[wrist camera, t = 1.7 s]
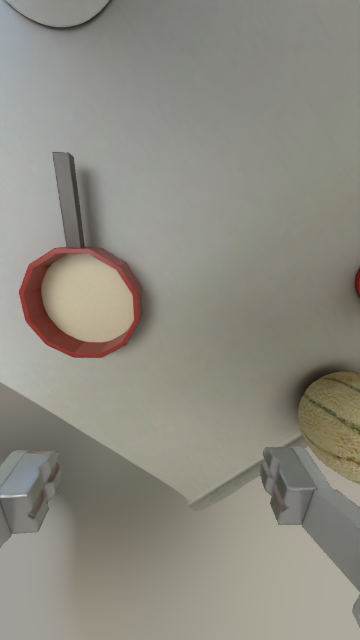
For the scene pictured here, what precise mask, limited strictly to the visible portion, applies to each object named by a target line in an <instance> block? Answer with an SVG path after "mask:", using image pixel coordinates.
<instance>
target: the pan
mask: <svg viewBox="0 0 360 640" xmlns="http://www.w3.org/2000/svg"><path fill="white" fill-rule="evenodd" d="M53 159H54V166H55V172H56V179H57V186H58V192H59V199H60V206H61V212H62V219H63V225H64V232H65V239H66V245H67V247H61V248H54V249H53V250H51V251H50V252H48V253H46V254H45V255H43V256H42V257H40V258H39V259H37V260H35V261H34V262H32V263H31V264H29V266H28V269H27V271H26V274H25V277H24V280H23V282H22V285H21V288H20V290H19V295H20V299H21V303H22V308H23V312H24V316H25V320H26V321H27V323H28V325H29V326H30V327H31V328H32V329H33V330H34V331H35V333H36V334H37V335H38V336H39V337H40V338H41V339H42V341H43V342H44V343H45V344H47V345H48V346H50V347H52V348H54V349H56V350H59V351H61V352H63V353H65V354H67V355H69V356H72V357H78V358H102V357H104V356H106V355H108V354H110V353H112V352H114V351H116V350H117V349H119V348H121V347H123V346H125V345H126V344H127V342H128V340H129V339H130V337H131V335H132V333H133V332H134V330H135V328H136V327H137V325H138V323H139V321H140V318H141V315H142V288H141V286H140V284H139V282H138V281H137V279H136V278H135V276H134V274H133V273H132V271H131V269H130V268H129V266H128V265H127V263H126V262H124V261H122V260H121V259H119V258H117V257H116V256H114V255H112V254H111V253H109V252H107V251H105V250H104V249H102V248H100V247H85V246H84V238H83V229H82V221H81V213H80V205H79V197H78V189H77V181H76V173H75V164H74V157H73V156H72V155H71V154H69V153H62V152H53Z"/></svg>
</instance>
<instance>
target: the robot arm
mask: <svg viewBox="0 0 360 640" xmlns="http://www.w3.org/2000/svg"><path fill="white" fill-rule="evenodd" d="M5 1H7V2H8V3H9V4H10V5H11V6H12V7H13V8H15V9H16V10H17V11H19V12H20V13H21V14H23V15H24V16H26V17H28V18H30V19H32V20H34V21H36V22H38V23H41V24H44V25H48V26H52V27H71V26H75V25H79V24H81V23H84V22H86V21H88V20H89V19H91V18H92V17H94V16H95V15H96V14H98V13H99V12H100V11H101V10H102V9H103V8H104V7H105V5H106V4H107V3H108V2H109V0H5ZM263 456H264V458H265V459H264V460H263V461H262V462H261V466H260V473H261V479H262V483H263V486H264V488H265V490H266V491H267V492H268V493H269V494H270V495H271V496H272V497H271V502H270V504H271V507H272V509H273V512H274V514H275V517H276V519H277V522H278V524H279V525H302V527H303V528H304V529H305V530H306V531H307V533H308V534H309V535H310V536H311V537H312V538H313V539H314V541H315V542H316V543H317V544H318V545H319V546H320V547H321V548H322V549H323V551H324V552H325V553H326V554H327V555H328V556H329V558H330V559H331V560H332V561H333V562H334V563H335V564H336V566H337V567H338V568H339V569H340V570H341V571H342V572H343V573H344V574H345V576H346V577H347V578H348V579H349V580H350V581H351V583H352V584H353V585H354V586H355V587H356V588H357V589H358V591H359V592H360V507H359V506H358V505H356V504H355V503H354V502H352V501H351V500H350V499H348V498H347V497H346V496H345V495H343V494H342V493H341V492H339V491H338V490H333V489H332V487H331V486H330V484H329V483H328V481H327V480H326V478H325V477H324V476H323V474H322V472H321V471H320V470H319V468H318V467H317V465H316V464H315V462H314V461H313V459H312V458H311V456H310V455H309V453H308V452H307V450H306V449H305V448H304V447H266V448H265V449H264V451H263ZM58 459H59V455H58V451H38V450H34V451H33V450H23V451H22V450H20V451H19V450H15V451H14V452H12V453H11V454H10V455H9V456H8V457H7V458H6V460H5V461H4V463H3V464H2V465H1V466H0V547H1V546H2V545H3V544H4V543H5V542H6V541H7V540H8V539H9V538H10V537H11V534H18V533H33V532H38V531H39V529H40V527H41V525H42V522H43V520H44V518H45V516H46V514H47V512H48V510H49V508H48V501H49V500H50V499H52V498H53V497H54V496H55V494H56V492H57V490H58V488H59V485H60V481H61V477H62V468H61V465H60V464H58V463H57V460H58ZM352 612H353V614H354V617H355V618H356V621H357V623H358V625H359V627H360V595H359V597H358V598H357V600H356V602H355V604H354V606H353V611H352Z"/></svg>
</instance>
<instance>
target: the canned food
mask: <svg viewBox="0 0 360 640" xmlns="http://www.w3.org/2000/svg"><path fill="white" fill-rule="evenodd" d="M356 291H357V293H358V295H359V296H360V270H359V272H358V274H357V277H356Z"/></svg>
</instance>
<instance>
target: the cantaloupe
mask: <svg viewBox="0 0 360 640" xmlns="http://www.w3.org/2000/svg"><path fill="white" fill-rule="evenodd" d="M298 419H299V423H300V429H301V432H302V434H303V437H304V439H305V441H306V442H307V445H308V446H309V447H310V449H311V450H312V451H313V453H314V454H315V455H316V456H317V457H318V459H319V460H321V461H322V462H323V463H324V464H325V465H326V466H328V467H329V468H331V469H332V470H334V471H335V472H337V473H338V474H340V475H341V476H343V477H345V478H347V479H348V480H350V481H352V482H355V483H357V484H360V373H358V372H336V373H331V374H328V375H325V376H323V377H321V378H320V379H318V380H317V381H315V382H313V383H312V384H311V385H310V386H309V387H308V388H307V390H306V391H305V393H304V395H303V396H302V397H301V400H300V403H299V408H298Z"/></svg>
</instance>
